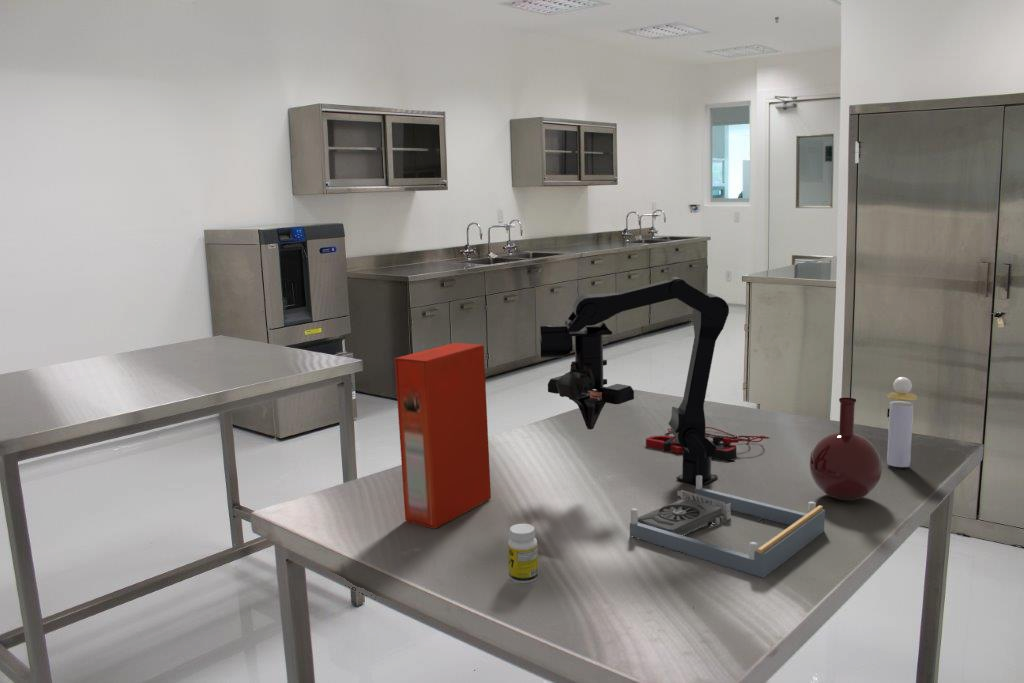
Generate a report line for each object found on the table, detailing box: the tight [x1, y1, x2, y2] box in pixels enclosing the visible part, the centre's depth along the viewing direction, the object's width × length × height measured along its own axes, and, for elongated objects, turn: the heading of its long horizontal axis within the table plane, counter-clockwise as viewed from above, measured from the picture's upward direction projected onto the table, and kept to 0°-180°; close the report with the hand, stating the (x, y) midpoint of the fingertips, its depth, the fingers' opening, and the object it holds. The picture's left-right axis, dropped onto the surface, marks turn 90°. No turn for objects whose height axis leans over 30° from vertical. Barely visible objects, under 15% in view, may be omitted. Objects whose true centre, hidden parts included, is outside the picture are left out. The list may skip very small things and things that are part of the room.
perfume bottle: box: [886, 376, 918, 468], centre depth 175 cm, size 6×6×20 cm
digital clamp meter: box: [645, 426, 771, 461], centre depth 198 cm, size 23×4×25 cm
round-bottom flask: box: [808, 397, 883, 501], centre depth 159 cm, size 13×13×20 cm
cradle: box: [629, 475, 826, 579], centre depth 145 cm, size 23×26×5 cm
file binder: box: [394, 342, 492, 529], centre depth 158 cm, size 8×17×32 cm, turn 145°
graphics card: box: [638, 489, 732, 536], centre depth 151 cm, size 17×4×12 cm
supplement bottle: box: [507, 523, 539, 584], centre depth 131 cm, size 5×5×8 cm
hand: (590, 429), depth 171 cm, fingers closed
